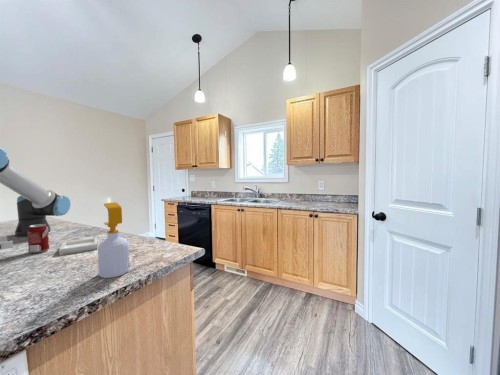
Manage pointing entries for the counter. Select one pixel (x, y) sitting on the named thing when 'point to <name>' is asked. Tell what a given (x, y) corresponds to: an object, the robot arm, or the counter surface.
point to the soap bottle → (113, 246)
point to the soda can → (38, 238)
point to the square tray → (78, 246)
